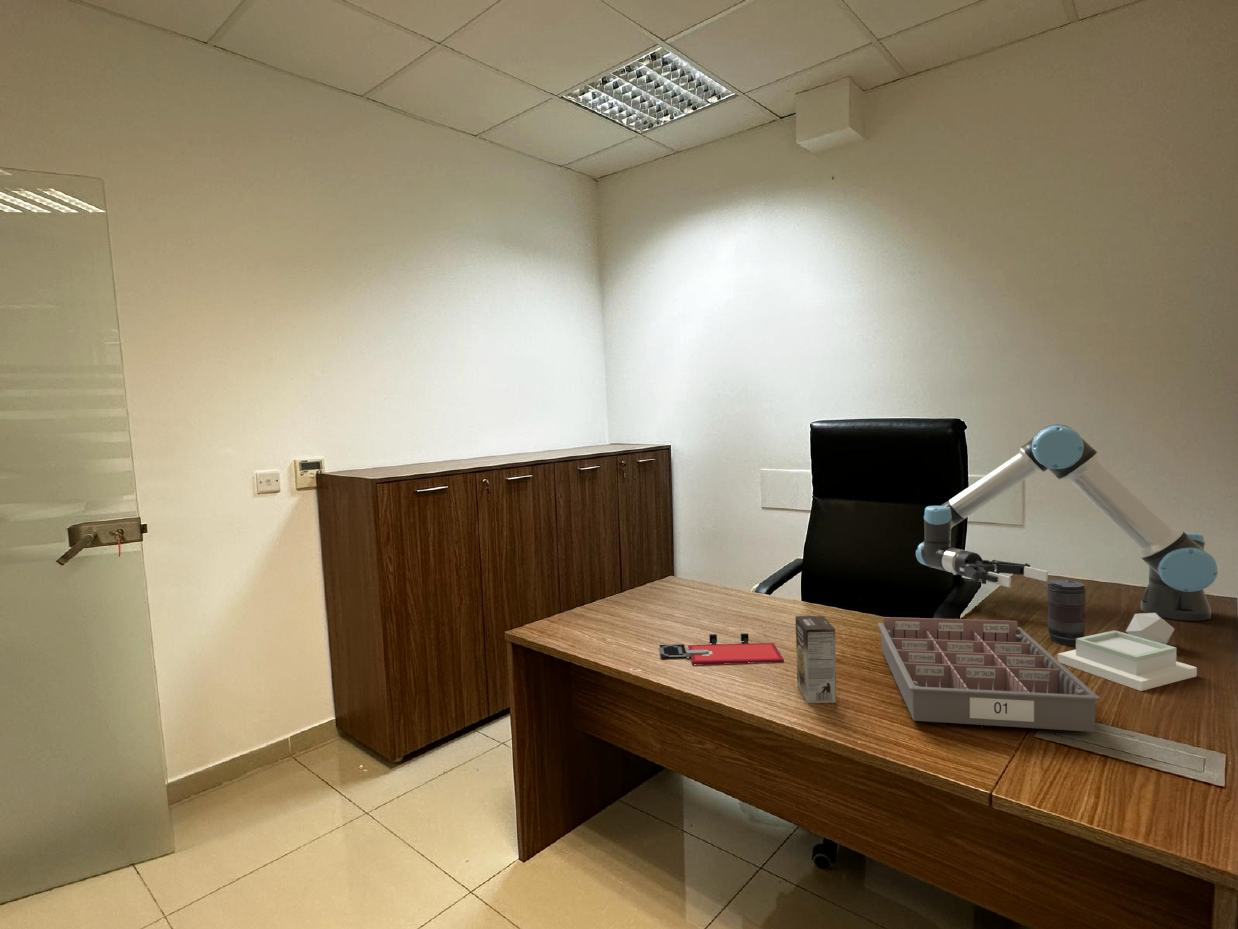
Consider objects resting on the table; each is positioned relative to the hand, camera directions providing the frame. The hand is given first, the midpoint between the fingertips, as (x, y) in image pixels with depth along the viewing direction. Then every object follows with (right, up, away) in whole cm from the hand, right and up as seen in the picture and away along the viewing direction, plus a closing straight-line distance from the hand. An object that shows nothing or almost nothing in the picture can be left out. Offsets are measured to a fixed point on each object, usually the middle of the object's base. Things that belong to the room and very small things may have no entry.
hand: (1028, 579), depth 175 cm
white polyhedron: (+21, -14, -14) cm, 29 cm away
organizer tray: (-34, -18, -34) cm, 52 cm away
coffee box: (-67, -19, -34) cm, 78 cm away
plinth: (+4, -15, -27) cm, 32 cm away
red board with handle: (-84, -18, -7) cm, 87 cm away
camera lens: (+4, -14, -8) cm, 17 cm away
